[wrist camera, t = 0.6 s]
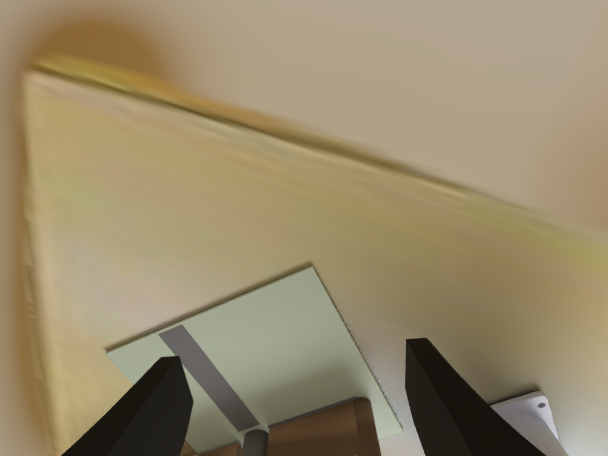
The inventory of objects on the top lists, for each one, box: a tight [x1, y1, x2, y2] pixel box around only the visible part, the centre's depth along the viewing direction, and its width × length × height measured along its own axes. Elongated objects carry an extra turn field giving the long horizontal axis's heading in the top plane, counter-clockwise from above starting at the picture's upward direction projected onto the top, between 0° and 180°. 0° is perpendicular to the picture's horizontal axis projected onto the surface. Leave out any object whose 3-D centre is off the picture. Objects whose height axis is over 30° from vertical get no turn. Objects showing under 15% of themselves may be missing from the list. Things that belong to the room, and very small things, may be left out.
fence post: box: [241, 397, 381, 456], centre depth 24 cm, size 2×10×4 cm, turn 116°
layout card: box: [106, 266, 403, 455], centre depth 25 cm, size 16×15×1 cm
